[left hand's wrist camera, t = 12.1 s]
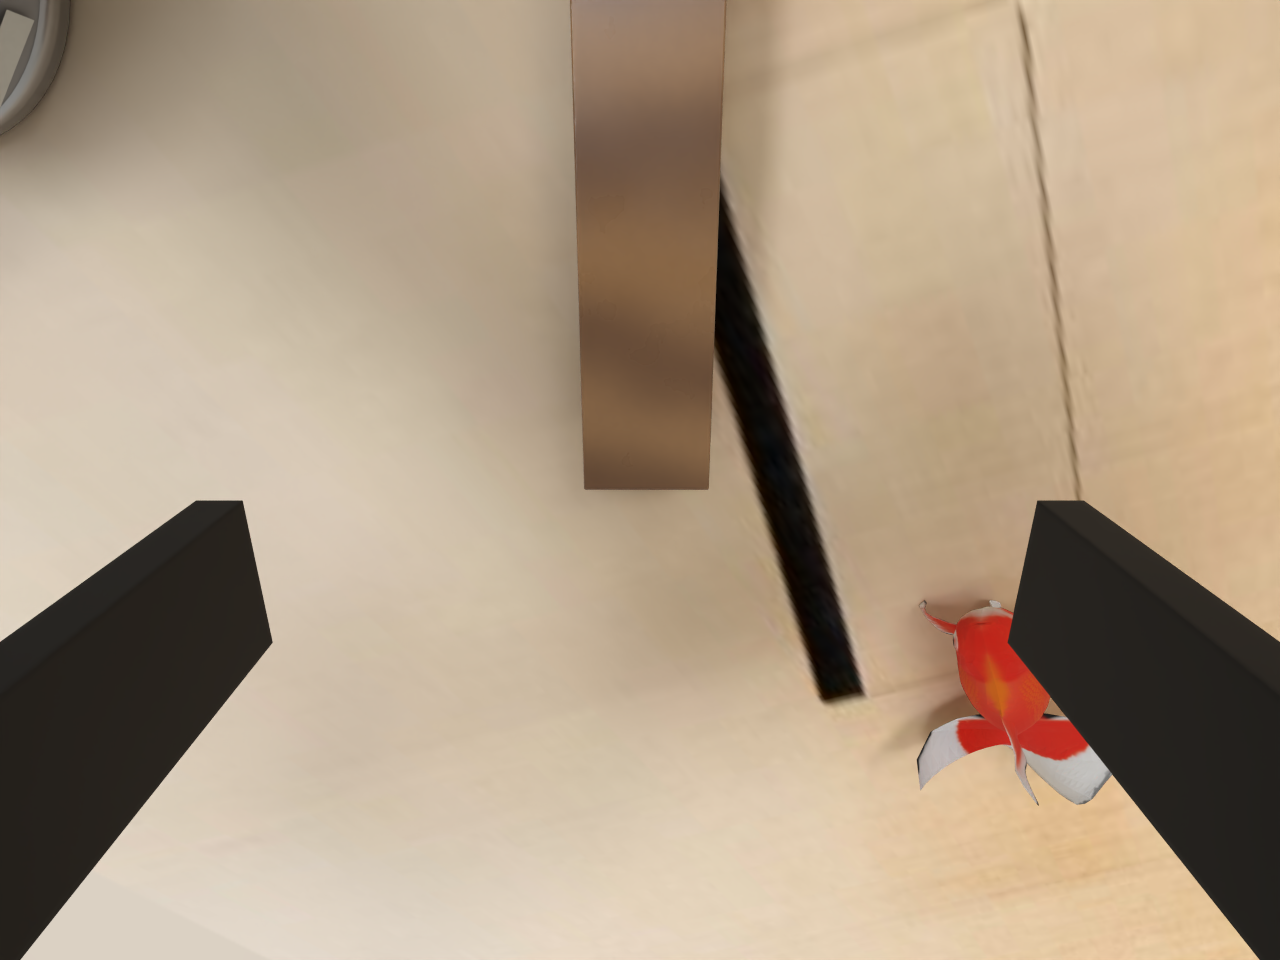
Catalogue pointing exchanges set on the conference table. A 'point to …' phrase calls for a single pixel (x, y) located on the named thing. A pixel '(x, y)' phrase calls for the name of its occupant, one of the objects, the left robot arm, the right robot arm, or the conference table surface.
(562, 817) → the conference table surface
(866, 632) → the conference table surface
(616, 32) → the post
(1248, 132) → the conference table surface
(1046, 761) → the fish
